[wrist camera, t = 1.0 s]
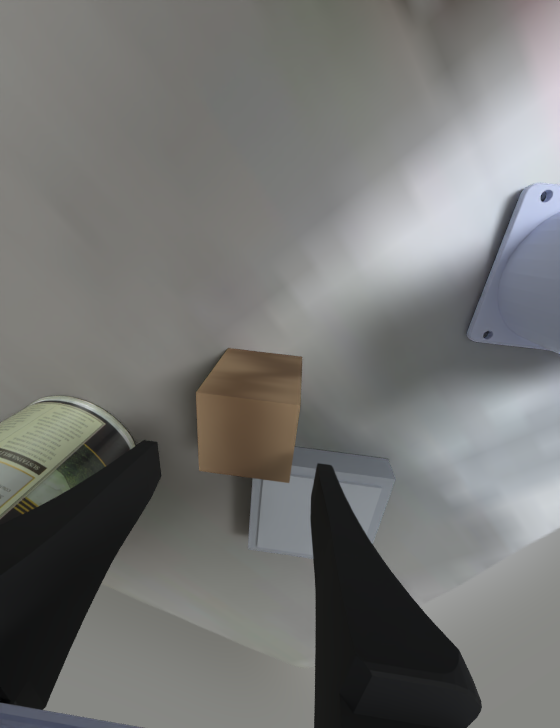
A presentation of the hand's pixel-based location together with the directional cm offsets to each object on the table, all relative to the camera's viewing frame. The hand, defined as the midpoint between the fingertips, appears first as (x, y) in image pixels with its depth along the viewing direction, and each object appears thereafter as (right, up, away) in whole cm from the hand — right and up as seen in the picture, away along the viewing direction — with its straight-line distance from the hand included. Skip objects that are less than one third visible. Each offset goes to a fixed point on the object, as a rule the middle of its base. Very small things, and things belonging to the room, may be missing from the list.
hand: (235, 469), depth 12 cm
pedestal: (+5, -6, +11) cm, 14 cm away
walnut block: (+1, +3, +7) cm, 8 cm away
